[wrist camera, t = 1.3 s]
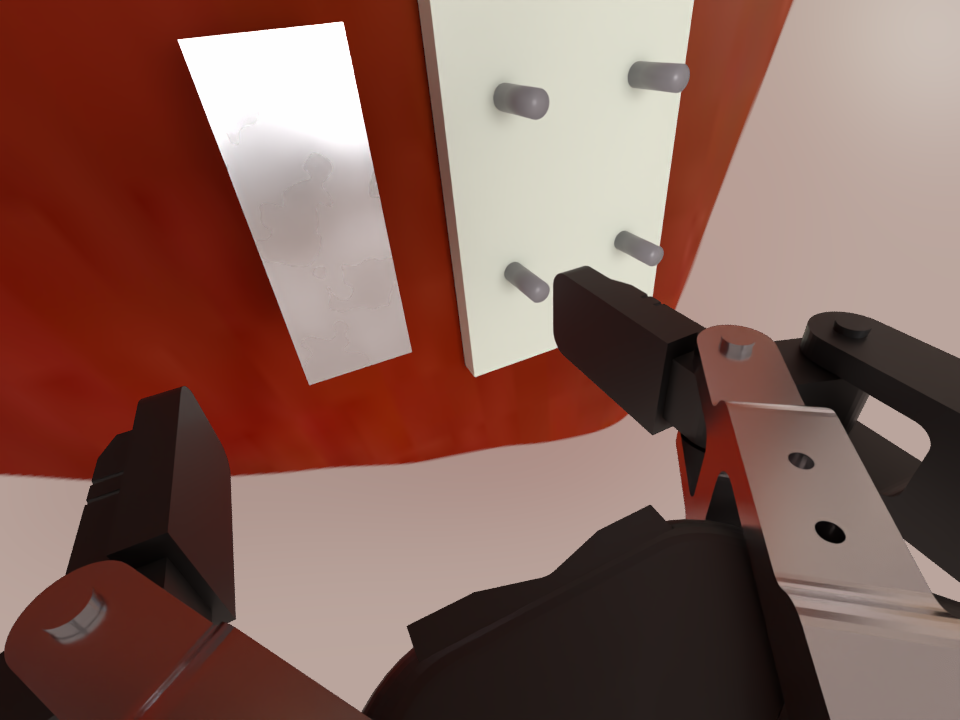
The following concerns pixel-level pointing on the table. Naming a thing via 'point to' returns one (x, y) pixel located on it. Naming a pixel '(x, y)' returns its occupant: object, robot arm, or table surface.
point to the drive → (306, 188)
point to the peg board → (550, 152)
